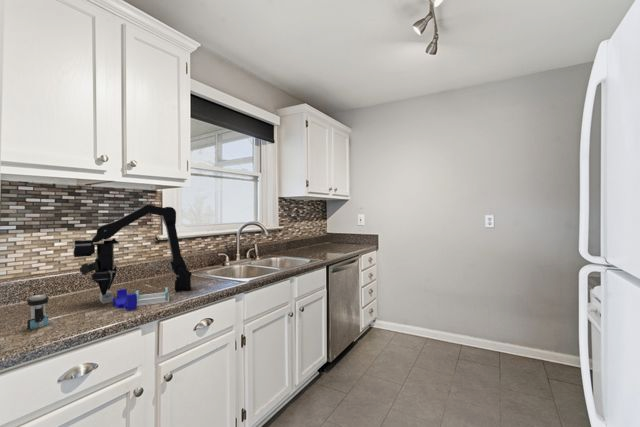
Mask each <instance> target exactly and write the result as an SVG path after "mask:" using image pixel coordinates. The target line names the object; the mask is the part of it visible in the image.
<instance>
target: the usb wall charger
mask: <svg viewBox="0 0 640 427" xmlns="http://www.w3.org/2000/svg"><path fill="white" fill-rule="evenodd" d="M98 295H99V302H101V303H102V304H109V303H113V298H114V292H112V291H111V290H107V292H106V294H105V295H102V293H101V291H100V292H99V294H98Z"/></svg>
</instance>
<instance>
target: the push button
mask: <svg viewBox="0 0 640 427" xmlns="http://www.w3.org/2000/svg"><path fill="white" fill-rule="evenodd" d="M49 299H50V297H48V296H46V294H35V295H31V296H30V298H29V299H27V300H26V303H27V306H30V318H29V319H27V323H26V324H27V328H28V329H31V330H34V329H37V328H42V327H44V326H47V325H49V323H50V322H53V321H54V320H53V317H50V318H49V316H47V314H46V304H48V302H49Z"/></svg>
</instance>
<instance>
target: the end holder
mask: <svg viewBox="0 0 640 427" xmlns="http://www.w3.org/2000/svg"><path fill="white" fill-rule="evenodd" d="M134 293H136V294H137V307H139V306H148V305H149V306H150V305H155V304H164V303H170V294H169V287H168V286H167V287H165V289H164V292H163V291H162V292H155V293H148V294H146V293H145V294H140V290H139V289H138V290H137V289H136V291H135V292H134Z"/></svg>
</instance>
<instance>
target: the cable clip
mask: <svg viewBox="0 0 640 427" xmlns="http://www.w3.org/2000/svg"><path fill="white" fill-rule="evenodd" d="M112 306H113V307H114V308H117V309H121V308H123V310H126V311H128V312H129V311H133V310H137V308H138V306H137V294H136V293H135V292H133V293H128V290H127V288H121V289H117V290H116V297H113V302H112Z"/></svg>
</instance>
